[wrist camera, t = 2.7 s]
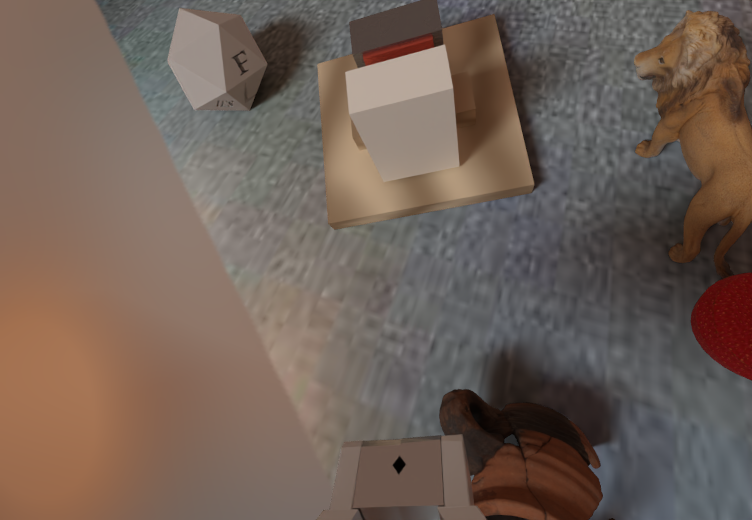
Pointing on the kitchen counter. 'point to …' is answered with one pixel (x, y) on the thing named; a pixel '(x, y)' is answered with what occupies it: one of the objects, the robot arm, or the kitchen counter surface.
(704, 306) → the strawberry
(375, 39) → the block
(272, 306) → the kitchen counter surface
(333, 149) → the tan square base board
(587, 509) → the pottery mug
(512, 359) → the kitchen counter surface
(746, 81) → the lion figurine
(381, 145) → the white rectangular block
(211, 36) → the die
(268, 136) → the kitchen counter surface
